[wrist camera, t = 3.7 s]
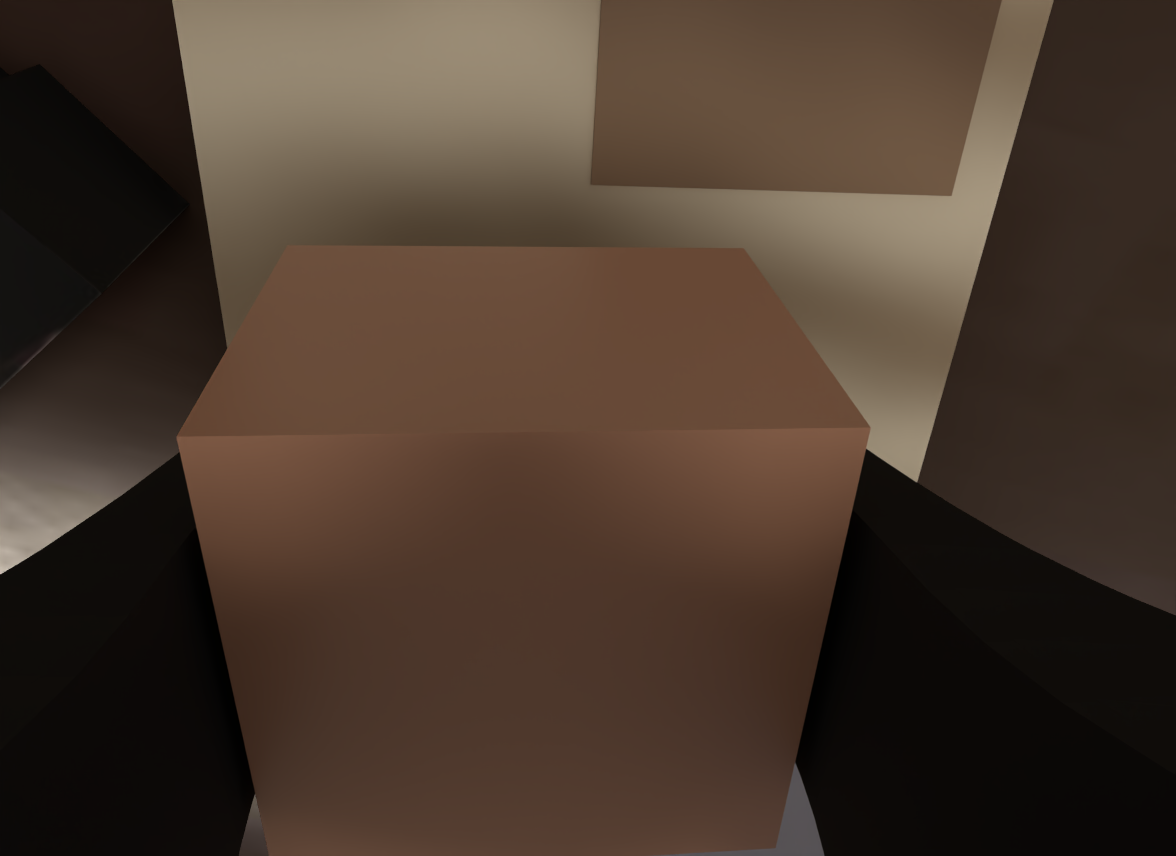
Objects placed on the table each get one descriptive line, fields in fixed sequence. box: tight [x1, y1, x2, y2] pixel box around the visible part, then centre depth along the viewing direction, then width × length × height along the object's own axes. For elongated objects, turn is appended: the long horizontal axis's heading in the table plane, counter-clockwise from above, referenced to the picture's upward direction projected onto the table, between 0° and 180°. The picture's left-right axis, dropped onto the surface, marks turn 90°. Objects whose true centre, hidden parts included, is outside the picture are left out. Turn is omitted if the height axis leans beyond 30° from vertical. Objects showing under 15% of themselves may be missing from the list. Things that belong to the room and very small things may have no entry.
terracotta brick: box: [177, 245, 871, 856], centre depth 10 cm, size 5×5×4 cm
